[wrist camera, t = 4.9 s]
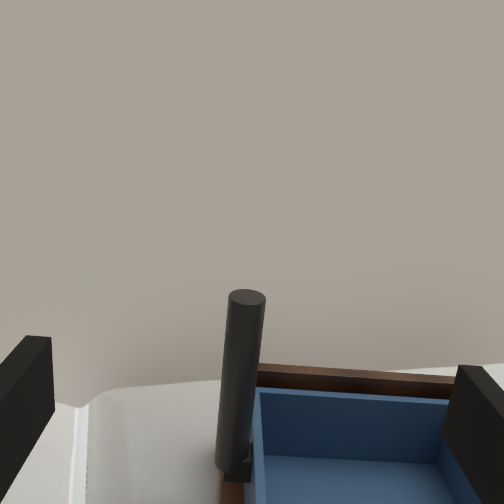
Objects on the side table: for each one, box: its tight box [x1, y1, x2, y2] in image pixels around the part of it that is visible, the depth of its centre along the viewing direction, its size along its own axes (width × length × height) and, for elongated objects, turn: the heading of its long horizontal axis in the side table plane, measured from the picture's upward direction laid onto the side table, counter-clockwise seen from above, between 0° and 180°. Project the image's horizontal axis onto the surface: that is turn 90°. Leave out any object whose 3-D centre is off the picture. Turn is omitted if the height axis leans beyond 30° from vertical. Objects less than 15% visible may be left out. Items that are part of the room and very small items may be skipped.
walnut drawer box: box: [219, 363, 455, 504], centre depth 29 cm, size 18×14×8 cm
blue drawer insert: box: [215, 289, 482, 504], centre depth 27 cm, size 17×11×15 cm, turn 91°
